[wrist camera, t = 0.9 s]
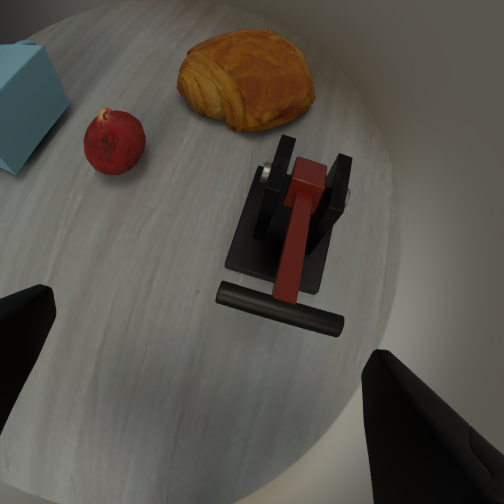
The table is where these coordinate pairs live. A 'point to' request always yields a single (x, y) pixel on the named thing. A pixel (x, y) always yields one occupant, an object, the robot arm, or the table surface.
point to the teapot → (26, 101)
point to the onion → (114, 142)
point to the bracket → (286, 220)
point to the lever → (290, 261)
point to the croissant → (247, 80)
